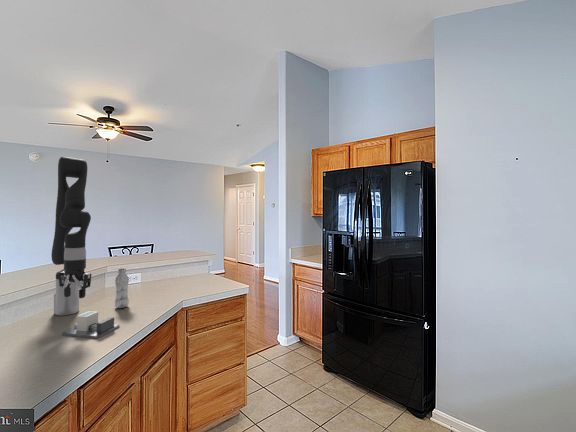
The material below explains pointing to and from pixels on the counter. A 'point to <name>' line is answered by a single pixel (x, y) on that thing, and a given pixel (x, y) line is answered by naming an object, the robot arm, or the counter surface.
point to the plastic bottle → (121, 289)
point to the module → (86, 320)
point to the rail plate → (87, 333)
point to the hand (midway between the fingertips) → (74, 297)
